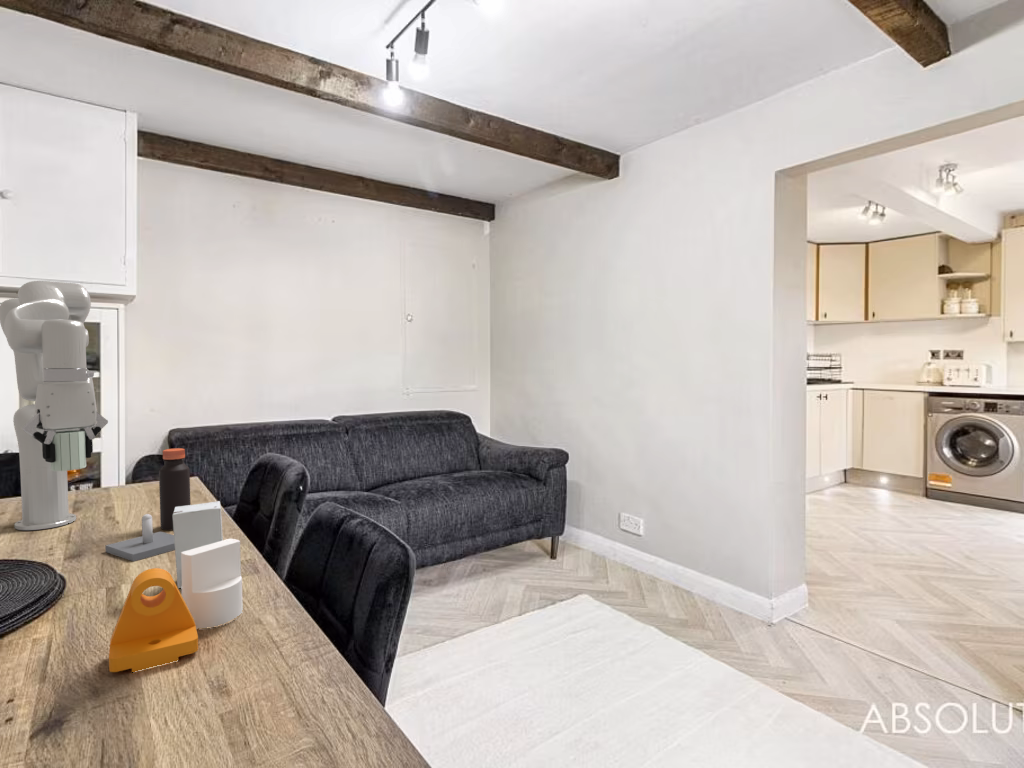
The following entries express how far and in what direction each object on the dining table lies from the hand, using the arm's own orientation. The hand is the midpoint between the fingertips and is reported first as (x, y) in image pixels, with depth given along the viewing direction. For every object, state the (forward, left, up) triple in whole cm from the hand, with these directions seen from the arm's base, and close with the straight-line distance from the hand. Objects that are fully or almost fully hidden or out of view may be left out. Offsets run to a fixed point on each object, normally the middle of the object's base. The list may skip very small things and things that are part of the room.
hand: (68, 458), depth 126 cm
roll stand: (+9, +11, -22) cm, 26 cm away
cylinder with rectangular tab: (+55, -2, -22) cm, 59 cm away
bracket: (+60, -14, -22) cm, 66 cm away
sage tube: (0, 0, -2) cm, 2 cm away
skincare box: (+38, +6, -22) cm, 44 cm away
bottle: (-3, +24, -22) cm, 33 cm away
